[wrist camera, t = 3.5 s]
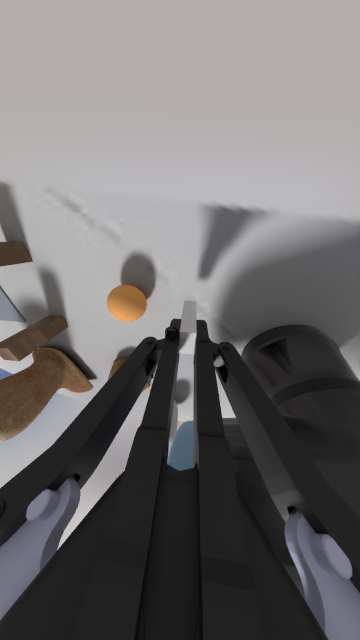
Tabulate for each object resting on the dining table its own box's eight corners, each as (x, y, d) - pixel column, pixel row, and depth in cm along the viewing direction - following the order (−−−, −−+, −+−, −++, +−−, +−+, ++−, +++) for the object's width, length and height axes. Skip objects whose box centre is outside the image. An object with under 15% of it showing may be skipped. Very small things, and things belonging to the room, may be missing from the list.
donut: (179, 408, 42) (175, 451, 34) (168, 407, 42) (162, 450, 34) (177, 391, 37) (171, 437, 28) (164, 390, 37) (156, 435, 29)
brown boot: (25, 346, 32) (-83, 416, 20) (65, 342, 30) (-28, 418, 18) (64, 382, 40) (5, 449, 27) (98, 381, 38) (50, 453, 25)
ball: (148, 280, 20) (135, 293, 16) (152, 311, 23) (141, 330, 19) (115, 279, 21) (92, 291, 16) (122, 309, 24) (105, 327, 19)
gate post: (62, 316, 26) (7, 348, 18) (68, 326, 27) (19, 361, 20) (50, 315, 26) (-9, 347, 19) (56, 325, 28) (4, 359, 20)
